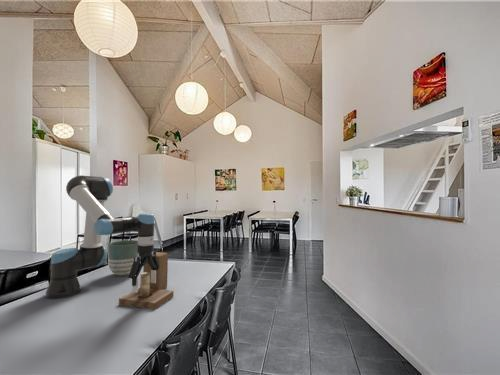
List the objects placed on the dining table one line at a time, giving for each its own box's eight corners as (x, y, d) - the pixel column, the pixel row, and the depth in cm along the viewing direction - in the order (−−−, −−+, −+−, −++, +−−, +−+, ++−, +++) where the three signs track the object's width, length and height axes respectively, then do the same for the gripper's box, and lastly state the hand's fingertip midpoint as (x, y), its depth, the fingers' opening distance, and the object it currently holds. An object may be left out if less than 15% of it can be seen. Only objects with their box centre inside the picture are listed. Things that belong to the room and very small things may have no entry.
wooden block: (158, 293, 138) (159, 256, 139) (142, 291, 140) (142, 255, 141) (167, 286, 148) (168, 252, 149) (152, 285, 150) (153, 251, 151)
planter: (145, 273, 174) (146, 241, 175) (117, 281, 158) (118, 246, 159) (128, 268, 185) (129, 239, 186) (100, 275, 168) (101, 243, 169)
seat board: (118, 304, 123) (118, 298, 123) (141, 292, 138) (141, 287, 138) (154, 309, 118) (154, 302, 118) (173, 296, 133) (173, 290, 133)
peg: (137, 303, 124) (138, 274, 125) (143, 299, 129) (144, 272, 129) (145, 304, 123) (146, 275, 124) (151, 300, 128) (152, 272, 128)
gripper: (134, 249, 114) (133, 297, 113) (166, 240, 138) (165, 280, 137) (120, 248, 116) (119, 295, 115) (154, 240, 140) (153, 278, 139)
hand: (144, 287), depth 126 cm, fingers open, 13 cm apart
